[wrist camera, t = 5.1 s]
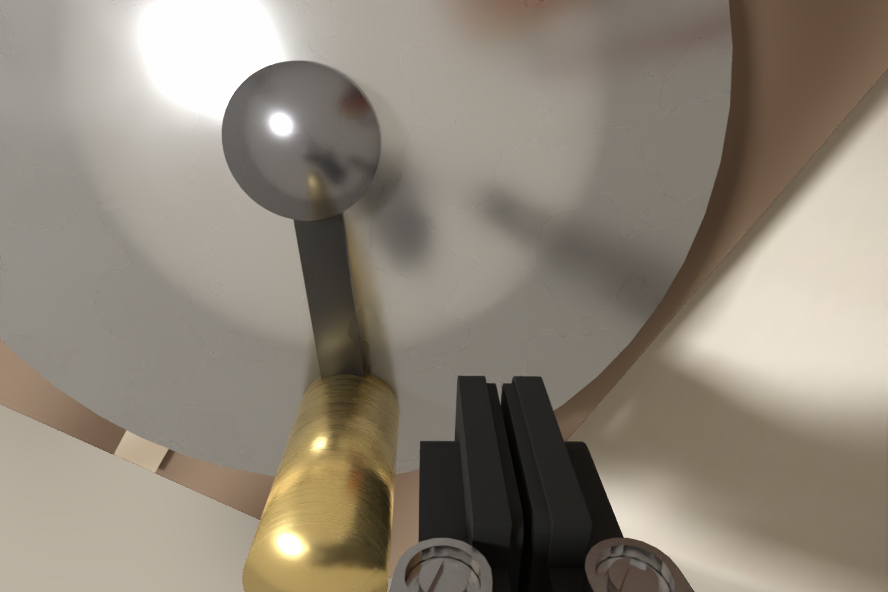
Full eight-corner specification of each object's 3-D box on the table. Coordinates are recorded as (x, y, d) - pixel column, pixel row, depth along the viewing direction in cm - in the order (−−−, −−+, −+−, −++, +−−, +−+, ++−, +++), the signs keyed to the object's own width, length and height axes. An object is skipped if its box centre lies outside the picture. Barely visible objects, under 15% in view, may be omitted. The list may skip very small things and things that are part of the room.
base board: (-199, 269, 16) (-265, 293, 15) (102, -867, 9) (35, -1051, 8) (431, 559, 21) (432, 601, 19) (943, -52, 14) (1008, -64, 12)
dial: (-260, -347, 10) (-1231, -895, 4) (745, -429, 10) (1202, -1101, 4) (62, 466, 17) (-138, 700, 11) (670, 419, 17) (806, 629, 11)
